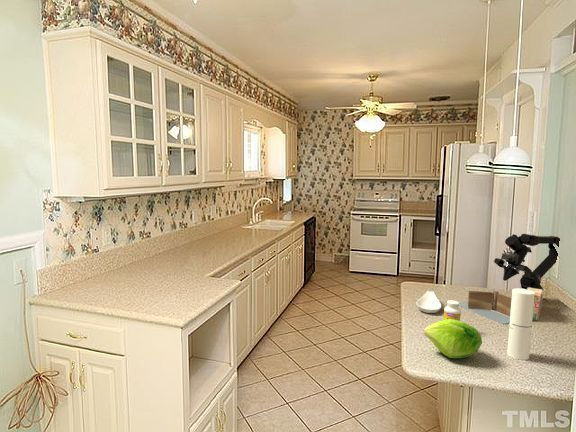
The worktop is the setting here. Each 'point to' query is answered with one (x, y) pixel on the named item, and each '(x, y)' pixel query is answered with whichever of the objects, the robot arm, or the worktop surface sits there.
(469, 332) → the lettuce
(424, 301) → the spoon rest
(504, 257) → the robot arm
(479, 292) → the wooden board
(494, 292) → the fence post and fixed panel
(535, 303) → the stack of blocks
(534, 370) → the worktop surface
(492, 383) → the worktop surface
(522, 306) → the cylindrical container
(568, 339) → the worktop surface
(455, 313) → the supplement bottle
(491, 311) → the card
